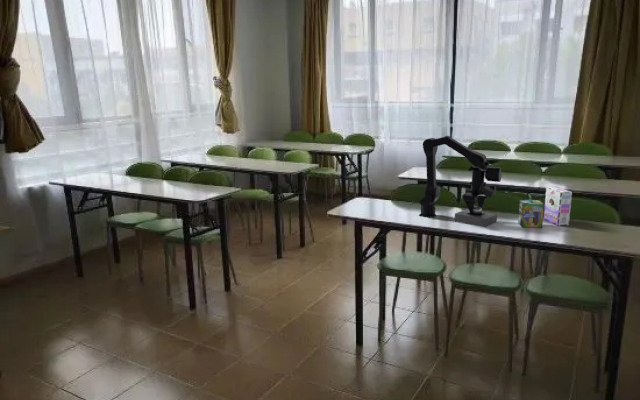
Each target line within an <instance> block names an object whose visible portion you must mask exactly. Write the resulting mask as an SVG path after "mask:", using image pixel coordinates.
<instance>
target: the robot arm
mask: <svg viewBox="0 0 640 400" xmlns="http://www.w3.org/2000/svg"><path fill="white" fill-rule="evenodd" d="M442 145H443V146H444V145H445V146H447V147H449V148H450V149H452V150H454V151H455V152H457V153H458V154H460V155H461V156H463V157H464V158H465V159H467V161H468V162H469V163H470V164H471V166H470V167H469V168H467V171H470V172H471V181H469V185H471V186H470V188H471V189H469V190H468V191H469V192H466V193H463V194H462V199H461V200H463V202H465V205H466V206H467V209H469V211H470V213H471V214H472V213H473V210H474V206H476V205H475V204H476V203H477V206H480V207H481V208H482V209H483V207H484V205H485V202H486V200H487V199H488V198H489V199H491V198H492V197H493V198H494V196H495V195H496V193H497V186H496V185H491V186H488V185H487V182H495V183H501V180H502V178H503V177H502V175H503V174H502V170H501V169H502V168H501V167H499V166H498V167H496V166H495V167H494V166H493V167H492V166H491V165H490V163H489V161H487V156H486V155H485V154H484V153H482V152H479V151H477V150H473V149H470V148H469V147H467V146H466V145H464V144H462V143H461V142H459V141H457V140H456V139H454V138H453V137H452V136H451V135H444V136H442V137H439V138H434V137H430V138H426V139H424V141H423V142H422V149H423V153H424V155H425V159H426V160H425V162H426V186H425V191H424V194H423V196H424V197H423V198H421V199H420V200H419V204H420V213H419V214H418V216H420V217H425V218H432V217H436V216H437V214H436V204H435V203H436V201H438V200H439V198H440V196H441V195H442V194H441V186H438V184H437V169H436V166H437V165H436V157H437V152H438V149H439V146H442ZM485 180H486V181H487V182H485Z"/></svg>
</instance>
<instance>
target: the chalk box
mask: <svg viewBox="0 0 640 400" xmlns="http://www.w3.org/2000/svg"><path fill="white" fill-rule="evenodd" d="M528 198H529V199H520V200H519V205H518V208H519V209H518V219H517V220H518V222H517V223H518V224H519V226H520V227H521V228H524V229H525V228H526V229H527V228H529V229H530V228H535V229H539V228H540V229H542V228H543V222H544V208H545V203H543V202H542V201H540V200H537V199H536V200H534V199H533V198H532V196H531V194H530V193H528Z"/></svg>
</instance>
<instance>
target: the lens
mask: <svg viewBox="0 0 640 400" xmlns="http://www.w3.org/2000/svg"><path fill="white" fill-rule="evenodd" d="M482 212H483V208H481V207H480V206H478V205H474V210H473V213H472V214H471V213H470V215H474V216H481V214H482Z"/></svg>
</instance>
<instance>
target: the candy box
mask: <svg viewBox="0 0 640 400" xmlns="http://www.w3.org/2000/svg"><path fill="white" fill-rule="evenodd" d="M572 197H573V191H570V190H567V189H565V188H562V187H560V186H546V187H545V197H544V209H543V220H546V221H547V222H549V223H552V224H553V225H556V226H558V227H559V226H561V227H562V226H563V227H564V226H570V220H571V219H570V218H571V207H572V199H573V198H572Z"/></svg>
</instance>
